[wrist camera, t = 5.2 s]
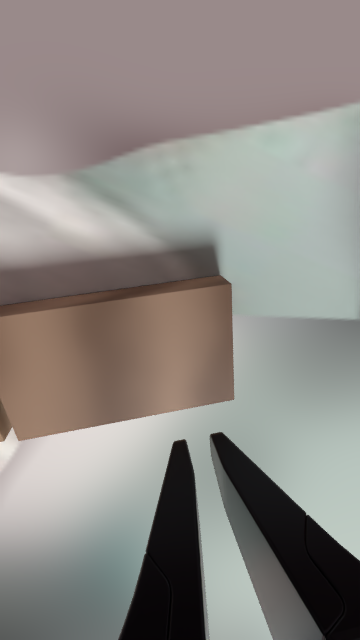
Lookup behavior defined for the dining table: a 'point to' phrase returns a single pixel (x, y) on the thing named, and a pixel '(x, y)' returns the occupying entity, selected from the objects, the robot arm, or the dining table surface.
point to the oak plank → (4, 423)
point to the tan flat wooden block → (115, 355)
